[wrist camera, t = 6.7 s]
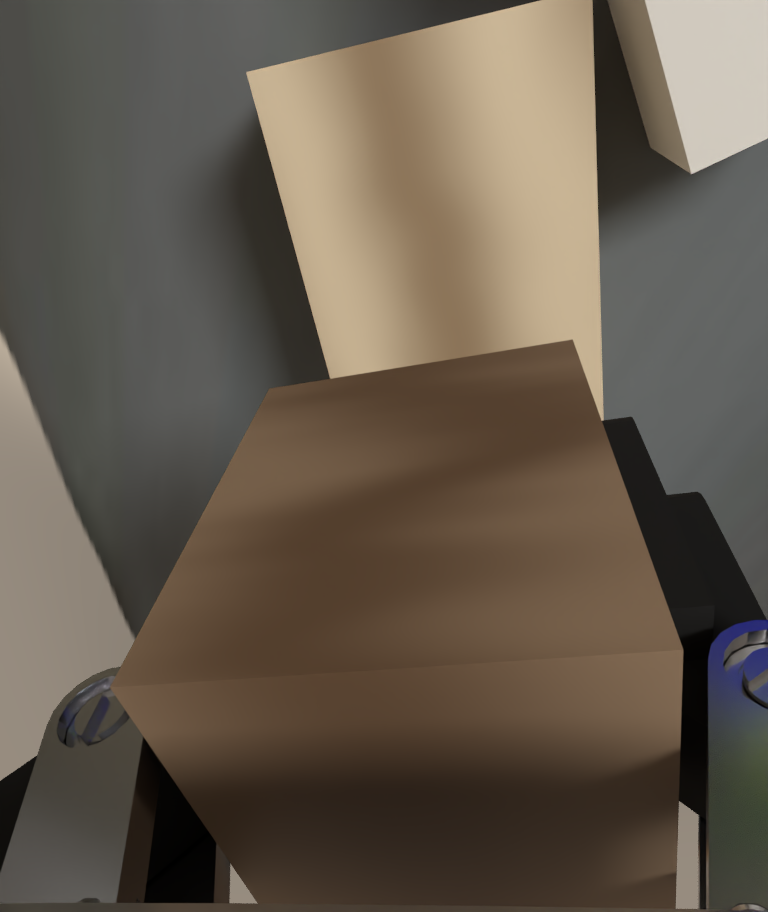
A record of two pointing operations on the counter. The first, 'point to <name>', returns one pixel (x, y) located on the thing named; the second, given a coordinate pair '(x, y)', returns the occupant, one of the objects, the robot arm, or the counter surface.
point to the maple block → (444, 188)
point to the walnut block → (423, 649)
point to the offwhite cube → (697, 74)
